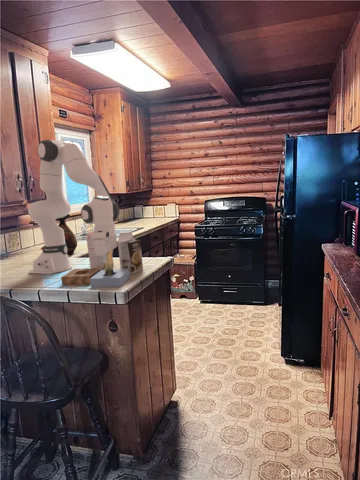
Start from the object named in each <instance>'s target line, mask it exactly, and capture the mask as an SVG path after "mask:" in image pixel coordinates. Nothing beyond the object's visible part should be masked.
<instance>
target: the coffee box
mask: <svg viewBox="0 0 360 480" xmlns="http://www.w3.org/2000/svg"><path fill="white" fill-rule="evenodd" d="M120 245H121V256H122V267H123V269H122V270H126V269H129V275H135V274H137V273H139V272H141V271H143V270H144V265H143V255H142V254H143V253H142V242H141V239H135V240H128V241H125V242H121V243H120Z"/></svg>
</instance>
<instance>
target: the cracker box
mask: <svg viewBox="0 0 360 480" xmlns="http://www.w3.org/2000/svg"><path fill="white" fill-rule="evenodd" d="M93 232H94V231H93ZM93 232H90V233H87V234H85V239H86V244H87V245H86V246H87V252H88V253H87V254H88V261H89V267H90V268H101V270H105V269H104V262H103V258H102V256H96V255H95V252H94V246H93V240H94V239H92V233H93ZM112 261H113V262H114V257H113V255H112ZM113 267H114V264H113Z"/></svg>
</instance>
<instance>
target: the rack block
mask: <svg viewBox="0 0 360 480" xmlns="http://www.w3.org/2000/svg"><path fill="white" fill-rule="evenodd" d="M100 271H101V268H89V267H88V268H74V269H72V270H70V271H69V272H67V273H65V274H63V275H62V276H61V277H60V278H61V280H60V281H61V286H85V285H89V286H91V283H90V278H92V277H93V276H94V275H96V274H97V273H98V272H100Z"/></svg>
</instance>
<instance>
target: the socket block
mask: <svg viewBox="0 0 360 480" xmlns="http://www.w3.org/2000/svg"><path fill="white" fill-rule="evenodd" d="M113 270H114V274H112V275H105V270H101V271H100V272H98V273H97V274H96V275H94V276H93V277H92V278H90V283H91V284H90V288H113V287H117V288H118V287H119V288H120V287H122V286H123V285H124V284H125V283H126V282H127V280H128V279H130V277H131V276H130V274H129V269H126V270H123V269H113Z"/></svg>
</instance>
